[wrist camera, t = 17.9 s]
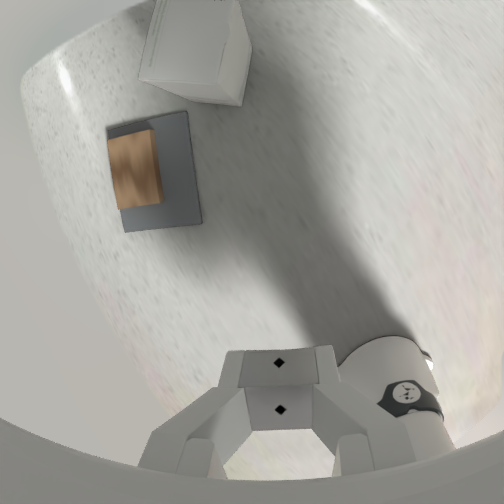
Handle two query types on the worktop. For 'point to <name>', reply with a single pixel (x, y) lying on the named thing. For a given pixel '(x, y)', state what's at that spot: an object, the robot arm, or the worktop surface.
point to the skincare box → (198, 50)
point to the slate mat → (166, 176)
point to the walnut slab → (135, 169)
